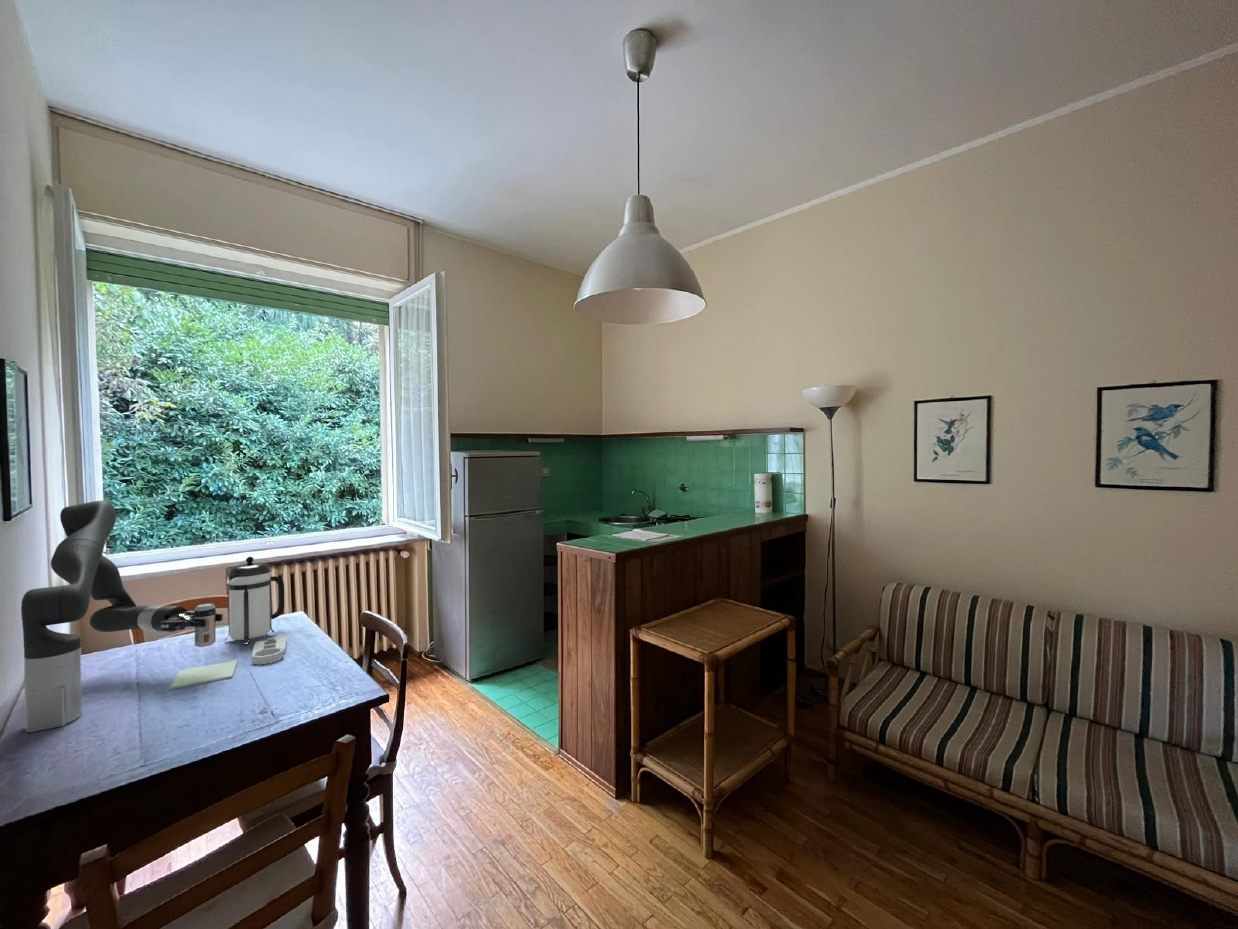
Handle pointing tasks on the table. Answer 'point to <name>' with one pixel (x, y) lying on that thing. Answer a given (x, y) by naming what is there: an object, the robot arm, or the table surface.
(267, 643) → the charging dock
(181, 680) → the sage mat
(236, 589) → the coffee press
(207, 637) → the beer can
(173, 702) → the table surface
